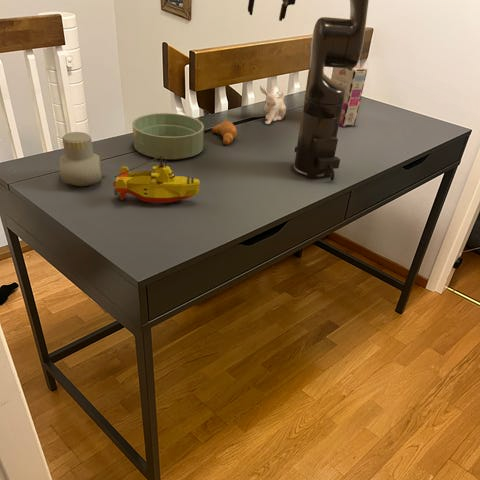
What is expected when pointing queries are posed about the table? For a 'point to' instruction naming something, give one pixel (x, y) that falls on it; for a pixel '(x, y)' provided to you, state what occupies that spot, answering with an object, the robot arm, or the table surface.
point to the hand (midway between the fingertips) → (265, 17)
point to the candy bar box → (350, 91)
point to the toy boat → (155, 184)
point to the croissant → (226, 131)
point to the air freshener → (79, 160)
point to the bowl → (168, 135)
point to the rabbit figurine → (274, 105)
